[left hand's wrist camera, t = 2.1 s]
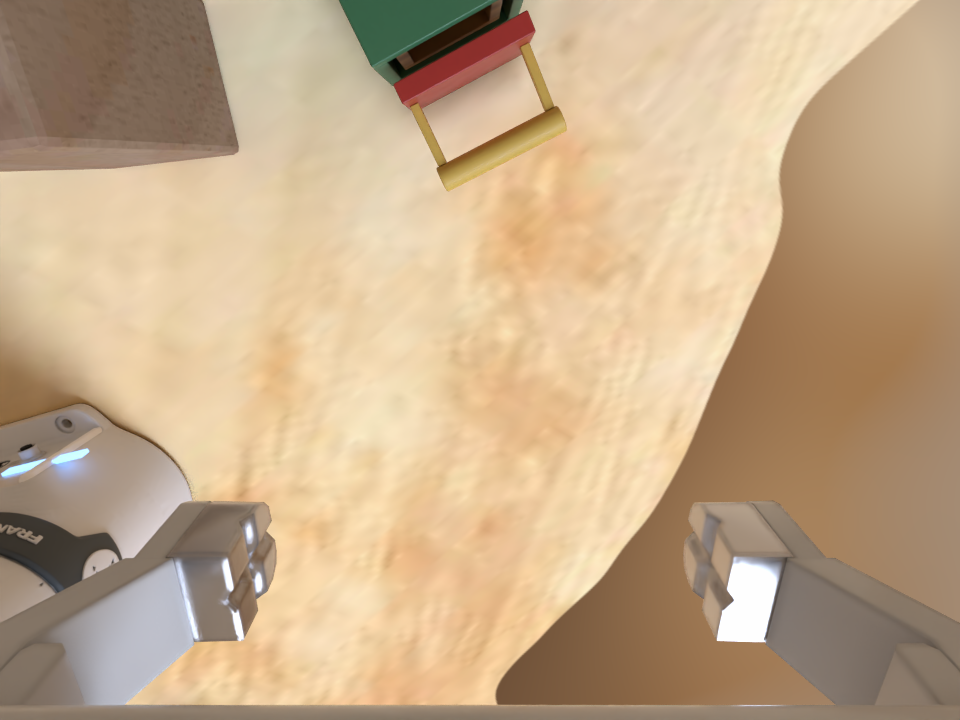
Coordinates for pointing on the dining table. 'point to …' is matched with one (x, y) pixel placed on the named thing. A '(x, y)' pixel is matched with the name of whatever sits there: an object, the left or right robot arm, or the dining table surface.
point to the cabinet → (413, 28)
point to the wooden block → (109, 85)
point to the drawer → (465, 69)
